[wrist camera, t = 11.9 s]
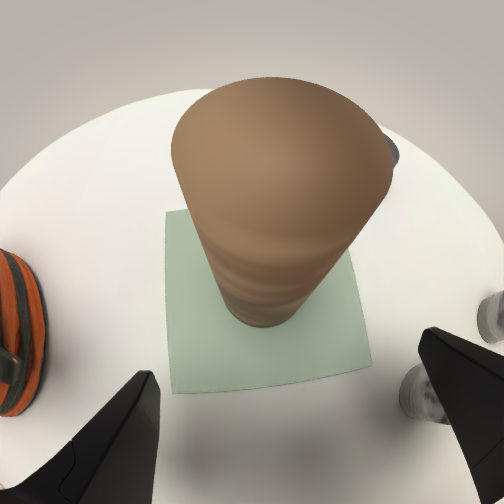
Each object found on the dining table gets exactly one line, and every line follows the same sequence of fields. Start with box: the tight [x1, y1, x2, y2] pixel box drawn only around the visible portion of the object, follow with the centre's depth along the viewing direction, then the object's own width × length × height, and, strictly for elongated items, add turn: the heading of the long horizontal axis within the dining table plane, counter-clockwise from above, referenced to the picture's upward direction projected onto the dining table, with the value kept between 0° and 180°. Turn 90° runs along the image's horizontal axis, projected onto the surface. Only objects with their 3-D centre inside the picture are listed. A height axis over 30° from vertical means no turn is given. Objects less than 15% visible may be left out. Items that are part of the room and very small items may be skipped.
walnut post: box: [171, 77, 393, 328], centre depth 11 cm, size 5×5×12 cm
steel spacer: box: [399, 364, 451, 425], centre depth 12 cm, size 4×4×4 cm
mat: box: [165, 209, 372, 394], centre depth 17 cm, size 12×12×1 cm
